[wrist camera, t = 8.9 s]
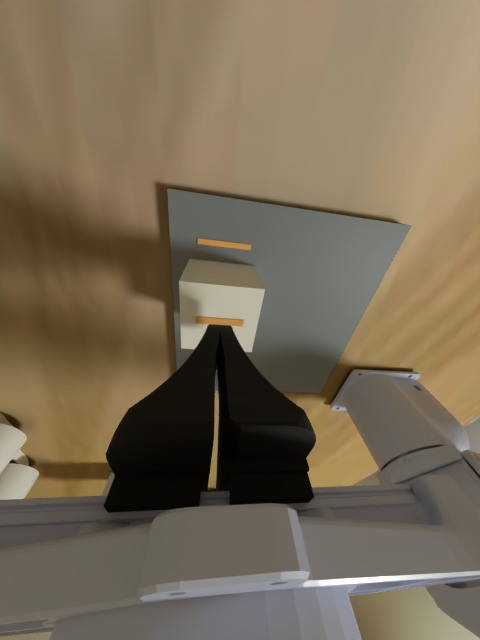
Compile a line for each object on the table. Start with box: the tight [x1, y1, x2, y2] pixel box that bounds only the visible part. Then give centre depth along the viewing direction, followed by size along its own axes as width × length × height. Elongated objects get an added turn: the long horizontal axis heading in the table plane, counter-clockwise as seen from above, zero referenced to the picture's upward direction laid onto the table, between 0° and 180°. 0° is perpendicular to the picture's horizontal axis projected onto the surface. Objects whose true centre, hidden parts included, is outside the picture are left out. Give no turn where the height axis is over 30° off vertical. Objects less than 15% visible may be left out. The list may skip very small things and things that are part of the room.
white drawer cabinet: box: [179, 259, 265, 352], centre depth 15 cm, size 5×5×5 cm
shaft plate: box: [167, 188, 411, 393], centre depth 19 cm, size 18×20×4 cm
